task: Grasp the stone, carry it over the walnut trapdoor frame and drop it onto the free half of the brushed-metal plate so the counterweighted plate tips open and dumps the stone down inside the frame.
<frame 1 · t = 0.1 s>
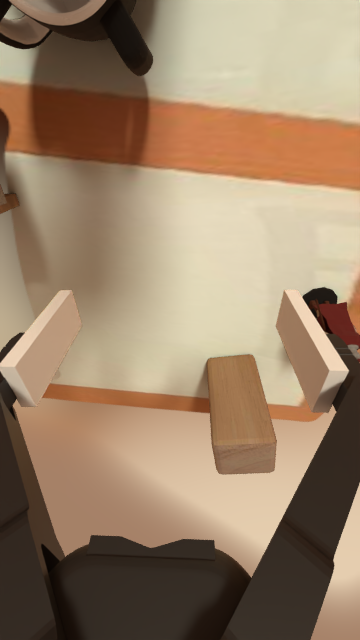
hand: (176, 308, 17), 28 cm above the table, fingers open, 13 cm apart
figurine: (317, 301, 49), on the table
wooden block: (231, 370, 60), on the table
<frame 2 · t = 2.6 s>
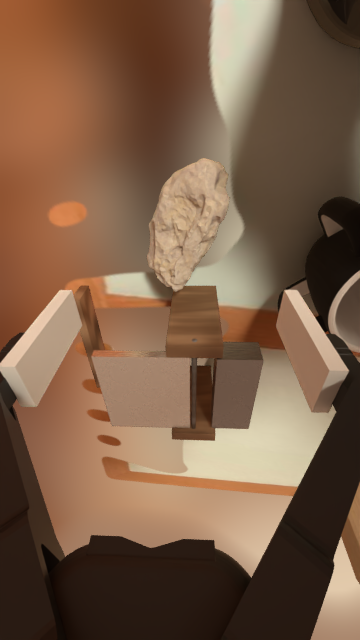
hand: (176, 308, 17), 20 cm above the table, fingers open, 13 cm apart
wooden block: (343, 471, 67), on the table
stone: (185, 217, 33), on the table
mug: (340, 256, 35), on the table
frame: (163, 333, 44), on the table
trapdoor: (178, 387, 35), point 11 cm above the table, hinge at 0.0°
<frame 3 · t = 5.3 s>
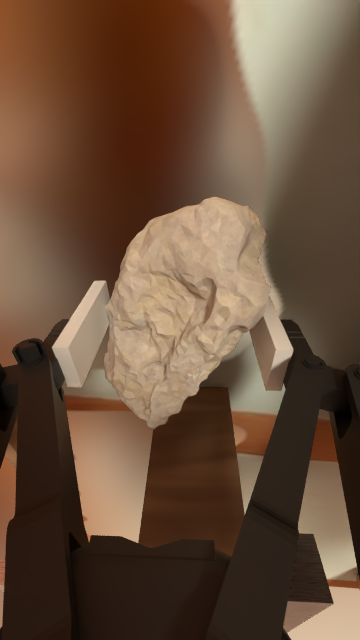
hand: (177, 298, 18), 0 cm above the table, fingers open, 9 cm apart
stone: (174, 290, 18), on the table, touching gripper
frame: (146, 440, 29), on the table
trapdoor: (165, 584, 20), point 11 cm above the table, hinge at 0.0°
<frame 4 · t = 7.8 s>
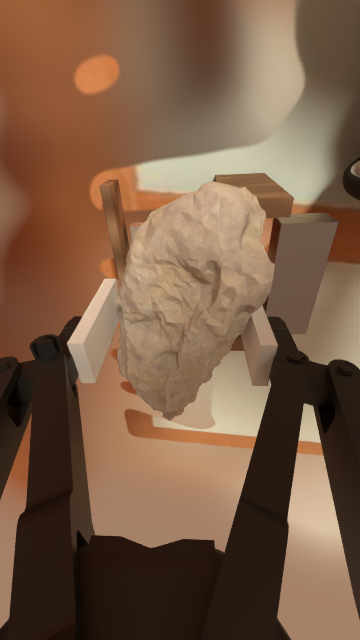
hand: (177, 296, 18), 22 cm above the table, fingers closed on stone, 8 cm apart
stone: (180, 282, 18), point 21 cm above the table, touching gripper
frame: (199, 244, 39), on the table
trapdoor: (226, 280, 30), point 11 cm above the table, hinge at 0.0°
when the fingers open (15 cm above the table, at t = 9.6 s): stone drops 6 cm, resting on trapdoor.
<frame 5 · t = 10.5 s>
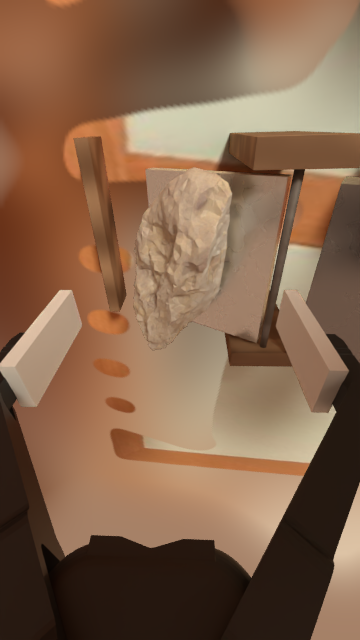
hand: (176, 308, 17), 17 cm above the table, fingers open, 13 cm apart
stone: (192, 250, 23), point 9 cm above the table, touching trapdoor
frame: (206, 227, 30), on the table
trapdoor: (256, 264, 22), point 10 cm above the table, hinge at -29.3°, touching stone
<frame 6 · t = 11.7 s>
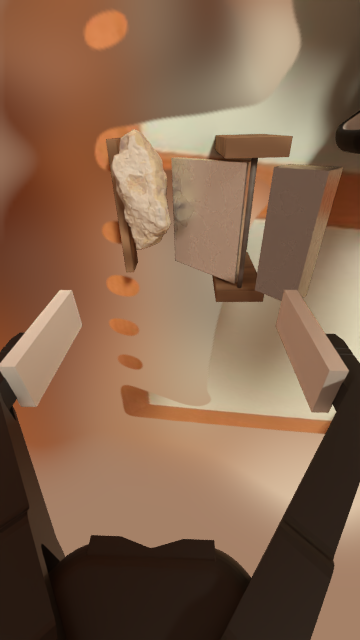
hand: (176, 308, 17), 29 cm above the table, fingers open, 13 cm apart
stone: (168, 189, 36), point 4 cm above the table, touching frame, trapdoor
frame: (199, 206, 40), on the table
trapdoor: (236, 225, 32), point 10 cm above the table, hinge at -43.6°, touching stone
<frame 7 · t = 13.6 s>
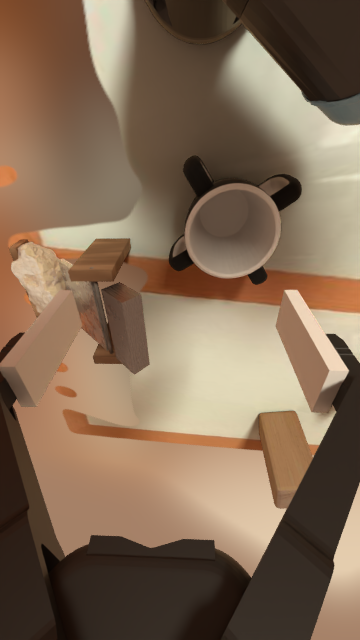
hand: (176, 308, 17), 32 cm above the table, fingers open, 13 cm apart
wooden block: (276, 420, 76), on the table
stone: (61, 278, 48), point 4 cm above the table, touching frame, trapdoor
mug: (223, 211, 44), on the table
frame: (95, 283, 52), on the table
trapdoor: (102, 311, 44), point 10 cm above the table, hinge at -43.6°, touching stone
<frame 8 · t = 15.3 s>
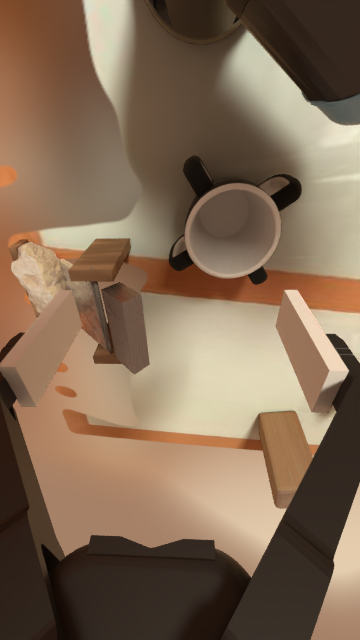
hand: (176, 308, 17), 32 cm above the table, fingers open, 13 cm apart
wooden block: (276, 420, 76), on the table
stone: (61, 278, 48), point 4 cm above the table, touching frame, trapdoor
mug: (223, 211, 44), on the table
frame: (95, 283, 52), on the table
trapdoor: (102, 311, 44), point 10 cm above the table, hinge at -43.6°, touching stone
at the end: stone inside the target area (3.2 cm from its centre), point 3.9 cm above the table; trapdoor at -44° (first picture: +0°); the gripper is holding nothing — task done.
